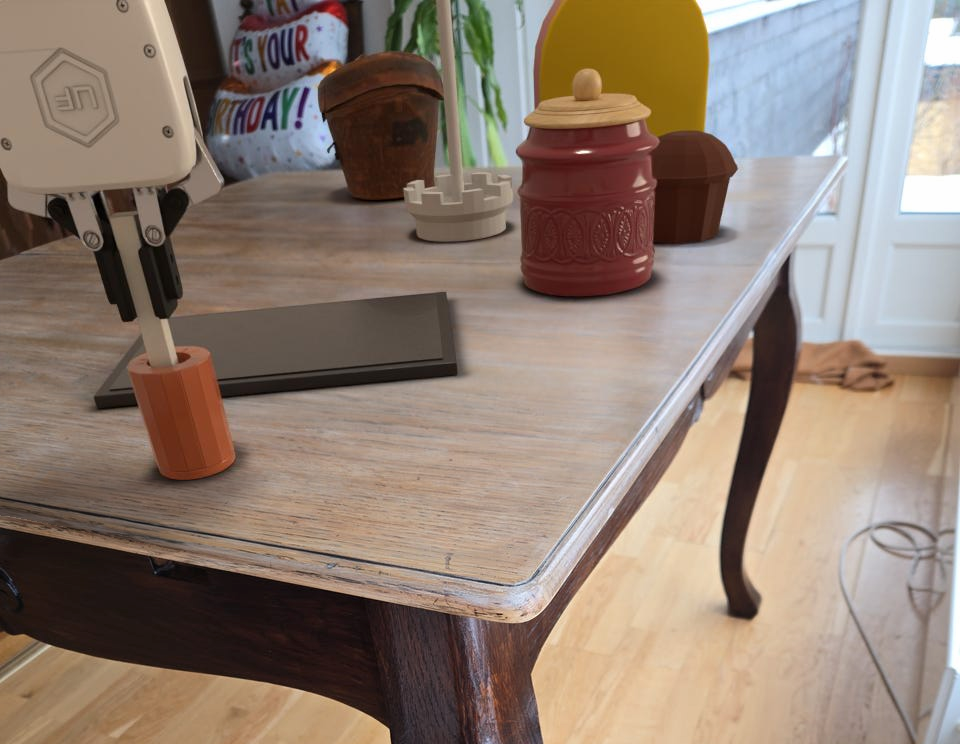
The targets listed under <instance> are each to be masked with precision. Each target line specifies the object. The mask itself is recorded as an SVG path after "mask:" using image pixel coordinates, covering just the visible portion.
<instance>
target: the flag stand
mask: <svg viewBox="0 0 960 744" xmlns="http://www.w3.org/2000/svg"><path fill="white" fill-rule="evenodd" d="M435 5H436V16H437V28H438V29H437V30H438V41H439V53H440V54H439V55H440V65H441V66H440V67H441V76H442V77H441V79H442V83H443V91H444V101H443V102H444V113H445V116H444V117H445V127H446V138H447V151H448V163H449V173H448V174H440V175H434V186H433V187H430V188H425V186H424V180H416V181H413V182H410V183H408V184H407V188H403V190H404V197H403V198H404V206H405V210H406V212H408V214H410V215H411V216H412V217H413V218H414V219H415V231H416V236H417V237H418V239H421V240H424V241H429V242H430V241H431V242H440V243H441V242H443V243H444V242H446V243H447V242H448V243H449V242H451V243H452V242H465V241H466V242H467V241H474V240H480V239H484V238H489V237H492V236H495V235H498V234H501V233H502V232H504V231H505V230H506V229H507V224H506V210H507V209H508V208H509V207H510V205H511V204H512V203H513V201H514V193H513V191H514V190H513V178H512V176H511V175H508V174H506V173H505V174H499V175H497V182H493V172H486V171H485V172H484V171H482V172H477V171H475V172H474V171H473V172H472V173H471V174H470V177H471V182H465V181H464V170H463V156H462V155H463V154H462V143H461V141H462V140H461V129H460V115H459V113H460V112H459V104H458V103H459V102H458V100H459V99H458V89H457V88H458V87H457V75H456V62H455V60H456V59H455V48H454V35H453V23H452V22H453V21H452V7H451V0H435Z"/></svg>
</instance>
